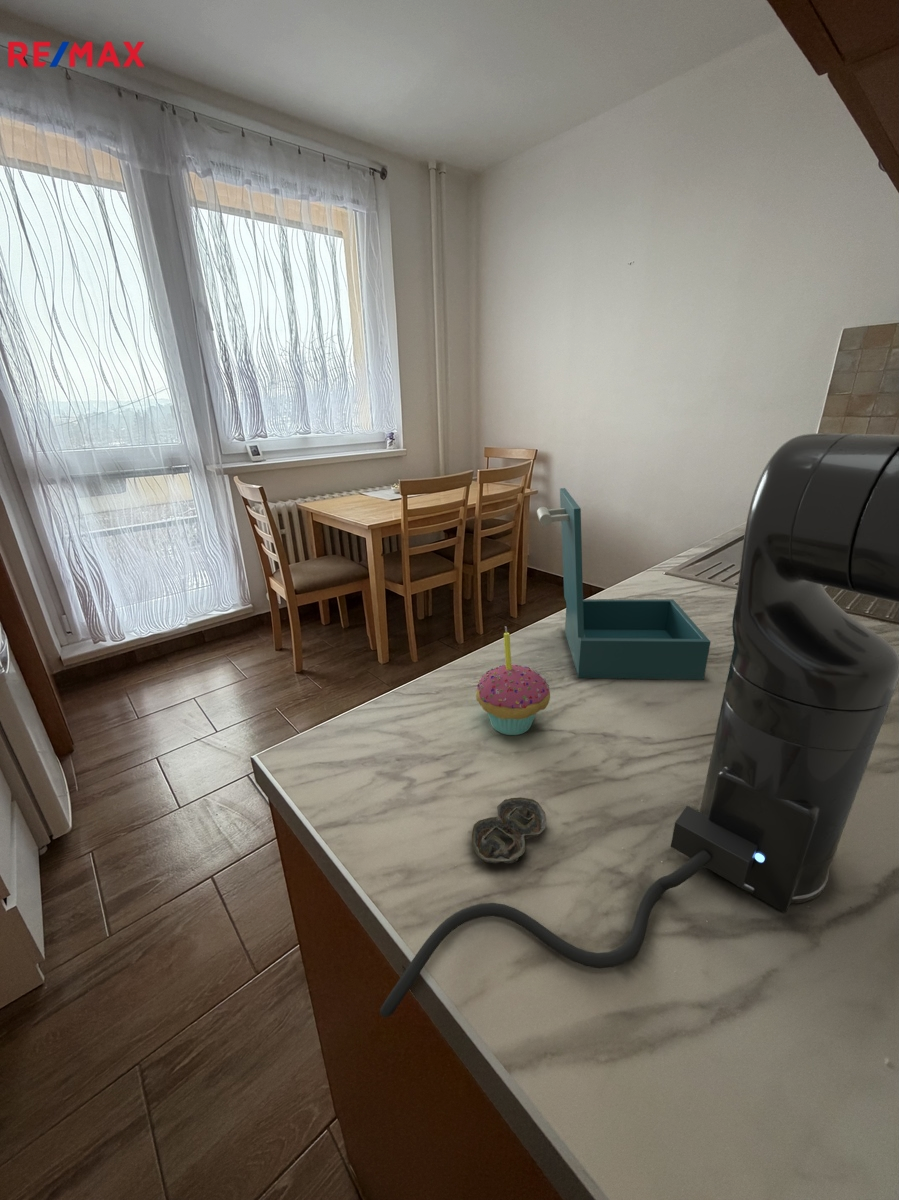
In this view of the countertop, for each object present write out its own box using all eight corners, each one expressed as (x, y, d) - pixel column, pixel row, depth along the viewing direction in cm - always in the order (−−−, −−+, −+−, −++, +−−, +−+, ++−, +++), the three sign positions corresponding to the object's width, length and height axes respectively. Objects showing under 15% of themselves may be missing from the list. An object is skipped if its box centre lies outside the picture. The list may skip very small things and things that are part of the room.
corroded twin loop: (558, 823, 44) (559, 815, 43) (503, 883, 39) (503, 874, 38) (514, 795, 47) (514, 787, 47) (458, 846, 42) (457, 837, 42)
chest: (668, 632, 78) (673, 599, 76) (703, 679, 65) (710, 641, 63) (564, 631, 80) (566, 599, 78) (578, 677, 67) (580, 640, 64)
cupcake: (466, 711, 60) (463, 625, 56) (527, 696, 63) (529, 612, 58) (494, 754, 53) (494, 658, 48) (562, 735, 55) (568, 642, 51)
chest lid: (565, 487, 71) (533, 491, 72) (580, 508, 58) (541, 512, 58) (569, 596, 78) (540, 598, 78) (584, 637, 64) (549, 639, 65)
